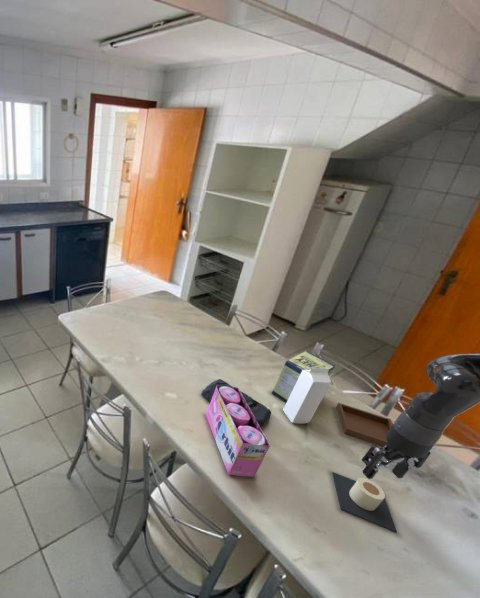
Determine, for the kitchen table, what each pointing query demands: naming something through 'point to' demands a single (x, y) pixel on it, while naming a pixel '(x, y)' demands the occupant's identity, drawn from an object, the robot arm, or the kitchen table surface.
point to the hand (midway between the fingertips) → (381, 475)
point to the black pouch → (259, 411)
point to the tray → (364, 424)
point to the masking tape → (366, 494)
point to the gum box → (236, 432)
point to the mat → (376, 516)
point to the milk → (307, 395)
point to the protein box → (297, 372)
